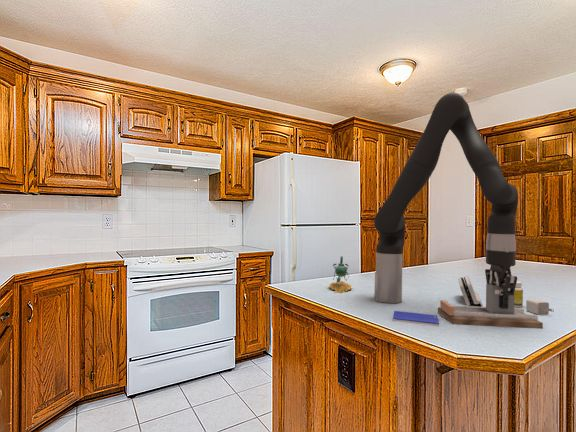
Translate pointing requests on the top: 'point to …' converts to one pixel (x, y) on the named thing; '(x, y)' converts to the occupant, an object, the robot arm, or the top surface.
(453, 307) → the rail board
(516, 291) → the supplement bottle
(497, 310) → the block
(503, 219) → the robot arm
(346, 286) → the frog figurine
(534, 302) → the usb wall charger
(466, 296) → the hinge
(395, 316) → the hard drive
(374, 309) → the top surface
